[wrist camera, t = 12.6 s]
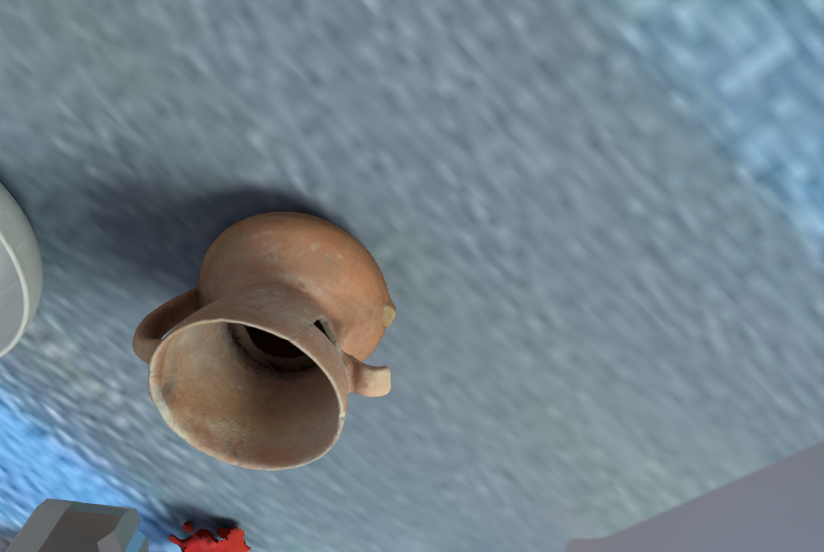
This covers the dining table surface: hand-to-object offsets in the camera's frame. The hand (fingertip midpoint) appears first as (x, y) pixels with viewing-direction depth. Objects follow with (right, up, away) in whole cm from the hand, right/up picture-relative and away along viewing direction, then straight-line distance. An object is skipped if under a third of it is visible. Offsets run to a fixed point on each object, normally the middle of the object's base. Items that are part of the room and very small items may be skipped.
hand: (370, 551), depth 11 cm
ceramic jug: (-9, +5, +39) cm, 40 cm away
